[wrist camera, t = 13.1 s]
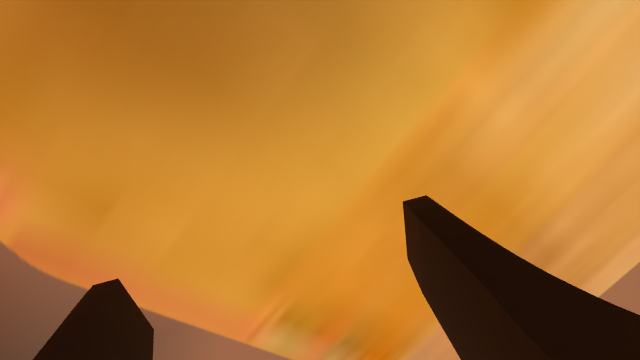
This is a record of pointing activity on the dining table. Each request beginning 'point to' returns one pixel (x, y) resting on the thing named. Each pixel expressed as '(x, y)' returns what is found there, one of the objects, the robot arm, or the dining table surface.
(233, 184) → the dining table surface
